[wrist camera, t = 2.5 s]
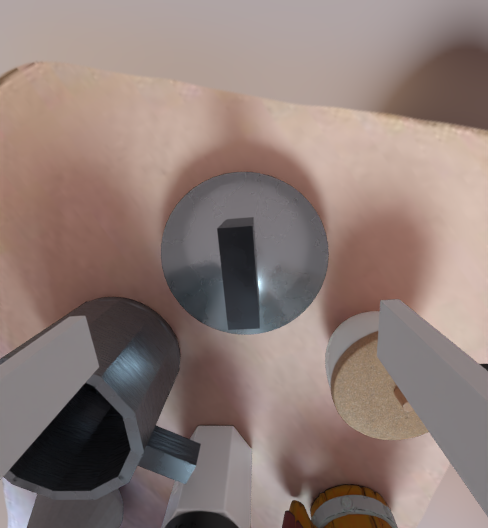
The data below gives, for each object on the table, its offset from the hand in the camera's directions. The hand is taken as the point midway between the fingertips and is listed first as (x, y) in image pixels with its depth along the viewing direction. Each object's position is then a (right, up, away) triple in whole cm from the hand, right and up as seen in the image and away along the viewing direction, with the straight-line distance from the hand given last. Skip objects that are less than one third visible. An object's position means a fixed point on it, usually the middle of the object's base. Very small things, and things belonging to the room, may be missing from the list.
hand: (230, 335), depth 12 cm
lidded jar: (+14, -5, +18) cm, 23 cm away
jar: (-3, -21, +23) cm, 31 cm away
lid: (+1, +4, +16) cm, 16 cm away
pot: (-12, -8, +20) cm, 24 cm away
